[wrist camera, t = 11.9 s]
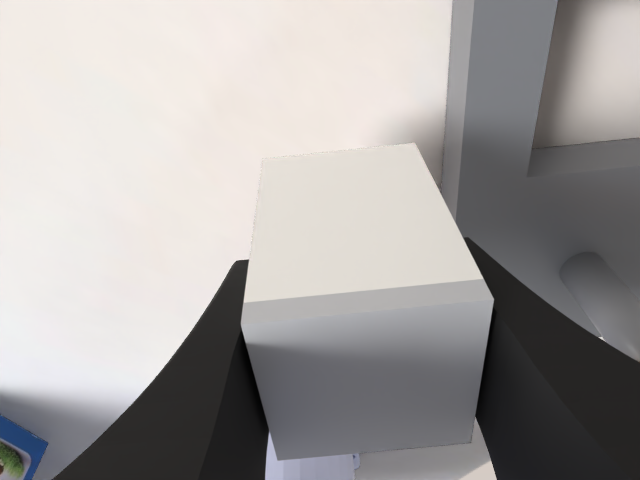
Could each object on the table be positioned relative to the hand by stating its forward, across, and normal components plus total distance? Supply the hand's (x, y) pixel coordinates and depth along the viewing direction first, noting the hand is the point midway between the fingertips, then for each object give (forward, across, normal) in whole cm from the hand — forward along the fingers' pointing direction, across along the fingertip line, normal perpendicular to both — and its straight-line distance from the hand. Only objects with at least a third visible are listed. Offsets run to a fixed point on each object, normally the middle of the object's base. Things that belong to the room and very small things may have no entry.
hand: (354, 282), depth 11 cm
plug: (+3, 0, 0) cm, 3 cm away
